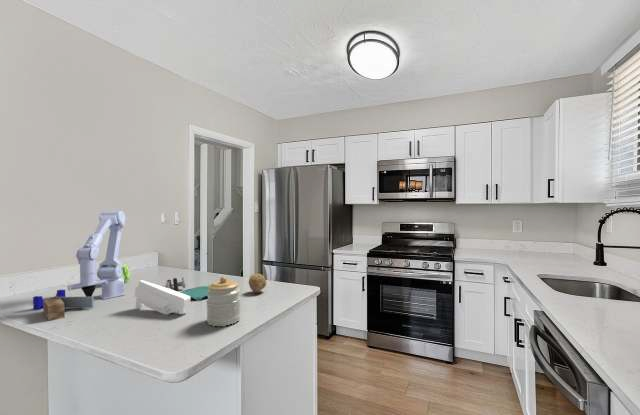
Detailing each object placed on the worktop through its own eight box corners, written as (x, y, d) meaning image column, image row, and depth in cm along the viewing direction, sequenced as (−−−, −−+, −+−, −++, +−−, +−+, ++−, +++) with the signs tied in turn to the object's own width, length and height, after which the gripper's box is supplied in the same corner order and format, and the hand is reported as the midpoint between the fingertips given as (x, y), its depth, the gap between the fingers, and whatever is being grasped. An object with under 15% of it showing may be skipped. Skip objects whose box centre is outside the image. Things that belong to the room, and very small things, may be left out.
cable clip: (57, 301, 148) (57, 289, 148) (65, 301, 147) (65, 289, 147) (30, 310, 136) (30, 296, 136) (38, 310, 136) (38, 297, 135)
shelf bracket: (142, 307, 138) (146, 278, 137) (188, 325, 130) (193, 295, 129) (130, 311, 133) (134, 282, 132) (177, 331, 124) (182, 299, 123)
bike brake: (189, 287, 166) (167, 289, 175) (187, 275, 166) (165, 277, 176) (166, 295, 154) (144, 295, 163) (165, 281, 154) (142, 283, 164)
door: (62, 306, 138) (62, 296, 138) (95, 306, 137) (94, 296, 137) (58, 308, 136) (58, 297, 136) (92, 307, 136) (91, 297, 136)
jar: (221, 330, 110) (221, 282, 110) (199, 323, 117) (198, 278, 117) (247, 318, 121) (247, 275, 121) (226, 312, 128) (225, 271, 128)
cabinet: (58, 309, 136) (57, 295, 136) (64, 317, 126) (64, 303, 126) (43, 312, 133) (43, 298, 132) (48, 321, 122) (48, 306, 122)
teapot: (96, 288, 170) (95, 266, 170) (99, 283, 182) (99, 262, 182) (129, 284, 178) (129, 263, 178) (131, 279, 190) (130, 259, 190)
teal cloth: (170, 298, 151) (170, 293, 151) (216, 284, 177) (216, 280, 177) (197, 304, 142) (197, 299, 142) (242, 288, 168) (241, 283, 168)
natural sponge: (258, 289, 163) (258, 271, 163) (270, 291, 158) (269, 272, 158) (245, 293, 156) (245, 274, 156) (257, 296, 151) (256, 276, 151)
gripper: (69, 277, 130) (70, 308, 131) (109, 271, 141) (109, 300, 141) (66, 275, 135) (67, 305, 135) (105, 269, 146) (105, 297, 146)
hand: (88, 302), depth 139 cm, fingers closed
